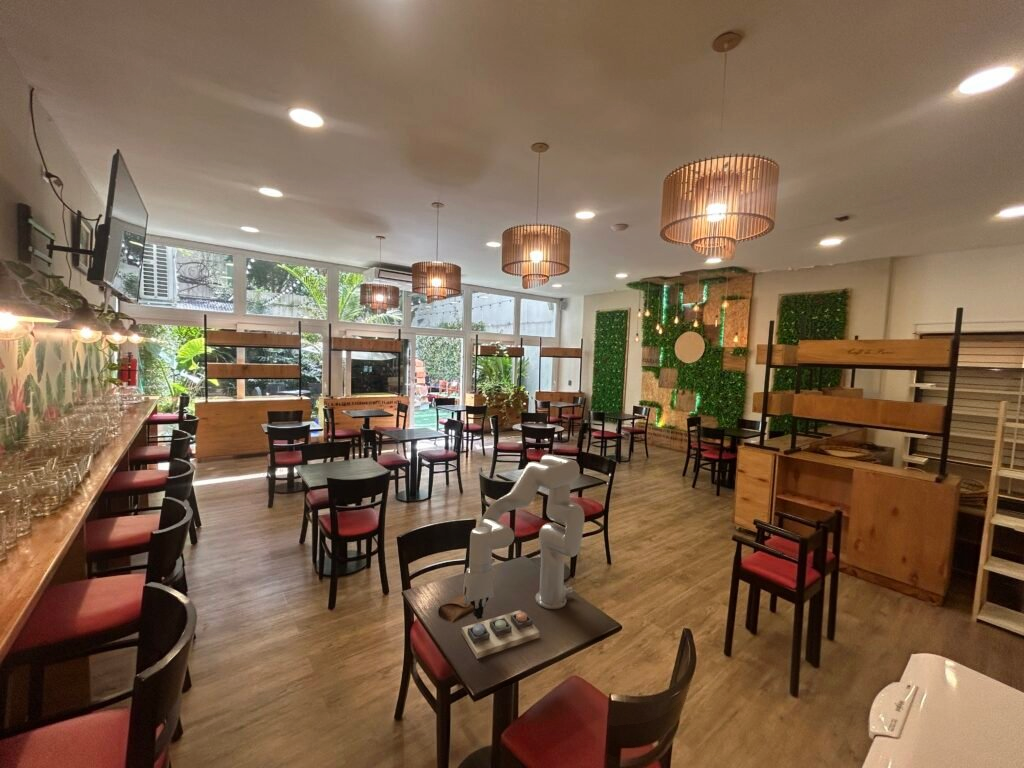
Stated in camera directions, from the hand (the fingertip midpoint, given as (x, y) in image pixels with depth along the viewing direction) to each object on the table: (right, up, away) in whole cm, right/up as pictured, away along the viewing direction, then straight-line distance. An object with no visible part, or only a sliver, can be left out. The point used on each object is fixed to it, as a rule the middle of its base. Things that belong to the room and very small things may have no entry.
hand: (478, 616), depth 142 cm
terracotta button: (+15, -6, +9) cm, 19 cm away
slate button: (0, -6, +1) cm, 7 cm away
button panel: (+8, -9, +5) cm, 13 cm away
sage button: (+8, -7, +5) cm, 11 cm away
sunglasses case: (-8, -9, +20) cm, 23 cm away
